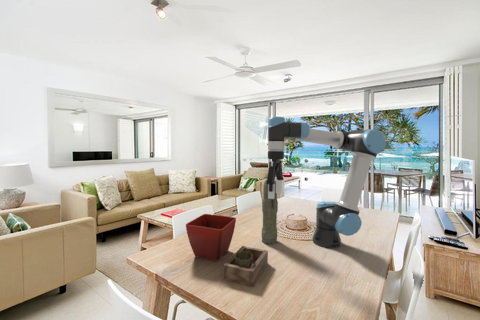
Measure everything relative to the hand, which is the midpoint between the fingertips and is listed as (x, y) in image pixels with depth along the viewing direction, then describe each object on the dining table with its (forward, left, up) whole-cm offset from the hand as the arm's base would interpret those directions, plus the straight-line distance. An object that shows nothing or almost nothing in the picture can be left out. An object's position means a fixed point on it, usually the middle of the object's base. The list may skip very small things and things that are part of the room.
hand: (275, 195), depth 111 cm
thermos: (+8, -20, -31) cm, 38 cm away
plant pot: (+30, +7, -31) cm, 44 cm away
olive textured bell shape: (+8, +19, -30) cm, 36 cm away
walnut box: (+8, +15, -31) cm, 35 cm away
